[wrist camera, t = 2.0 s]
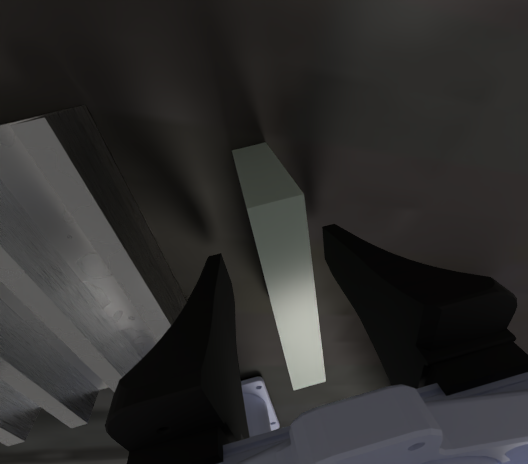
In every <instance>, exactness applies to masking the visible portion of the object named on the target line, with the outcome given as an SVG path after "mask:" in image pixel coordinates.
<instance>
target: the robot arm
mask: <svg viewBox="0 0 528 464" xmlns="http://www.w3.org/2000/svg"><path fill="white" fill-rule="evenodd" d="M322 228H323V241H324V253H325V260H326V262H327V264H328V266H329V269H330V271H331V273H332V275H333V276H334V278H335V280H336V281H337V283H338V284H339V286H340V287H341V289H342V290H343V292H344V294H345V295H346V297H347V298H348V300H349V301H350V303H351V304H352V306H353V307H354V309H355V311H356V312H357V314H358V316H359V317H360V319H361V321H362V323H363V325H364V327H365V329H366V331H367V333H368V335H369V337H370V339H371V341H372V343H373V346H374V348H375V350H376V352H377V354H378V356H379V358H380V360H381V362H382V365H383V367H384V369H385V371H386V373H387V376H388V378H389V380H390V382H391V385H392V386H387V387H384V388H380V389H377V390H373V391H370V392H367V393H363V394H360V395H356V396H353V397H349V398H346V399H342V400H339V401H336V402H332V403H329V404H325V405H322V406H318V407H315V408H313V409H311V410H308V411H306V412H304V413H302V414H301V415H300V416H298V417H297V418H296V419H295V420H294V421H293V422H292V424H291V426H287V427H284V428H281V429H278V428H279V426H280V425H279V421H278V418H277V416H276V413H275V410H274V408H273V405H272V402H271V399H270V397H269V394H268V391H267V389H266V386H265V383H264V380H263V378H262V377H254V378H250V379H246V380H243V381H241V379H240V372H239V365H238V357H237V349H236V328H235V301H234V294H233V288H232V283H231V280H230V277H229V274H228V272H227V269H226V266H225V263H224V260H223V258H222V255H221V253H220V254H217V255H213V256H209V257H208V259H207V261H206V263H205V266H204V268H203V271H202V273H201V275H200V278H199V280H198V282H197V284H196V286H195V288H194V290H193V292H192V294H191V295H190V297H189V299H188V301H187V303H186V304H185V306H184V308H183V309H182V311H181V312H180V314H179V315H178V317H177V318H176V320H175V321H174V322H173V324H172V325H171V326H170V328H169V329H168V330H167V331H166V333H165V334H164V335H163V336H162V338H161V339H160V340H159V341H158V342H157V343H156V345H155V346H154V347H153V348H152V349H151V350H150V351H149V352H148V353H147V354H146V355H145V356H144V357H143V358H142V359H141V360H140V361H139V362H138V363H137V364H136V365H135V366H134V367H133V368H132V369H131V370H130V371H129V372H128V373H126V374H125V375H124V376H123V377H122V378H121V379H120V380H119V382H118V385H117V388H116V390H115V393H114V396H113V399H112V403H111V406H110V410H109V413H108V417H107V420H106V424H105V428H106V432H107V433H108V434H109V435H110V436H111V438H113V439H114V440H115V441H116V442H118V443H119V444H120V445H122V446H123V447H124V448H125V449H127V450H128V451H129V456H128V461H127V464H528V355H527V354H526V353H525V352H524V351H523V350H522V349H521V348H520V347H519V346H517V345H516V344H515V343H514V342H513V341H515V340H516V337H515V336H514V335H513V334H512V333H511V332H510V331H509V330H508V329H507V327H508V325H509V323H510V321H511V319H512V317H513V315H514V313H515V311H516V308H517V298H516V297H515V295H514V294H513V293H511V292H510V291H509V290H507V289H506V288H505V287H503V286H502V285H501V284H499V283H498V282H497V281H495V280H494V279H492V278H491V277H486V276H480V275H474V274H467V273H461V272H456V271H451V270H446V269H442V268H437V267H433V266H429V265H426V264H422V263H419V262H415V261H412V260H409V259H406V258H403V257H401V256H398V255H395V254H393V253H390V252H388V251H385V250H383V249H381V248H379V247H376V246H374V245H372V244H370V243H368V242H366V241H364V240H362V239H360V238H359V237H357V236H355V235H353V234H351V233H350V232H348V231H346V230H344V229H343V228H341V227H339V226H337V225H335V224H332V225H328V226H324V227H322ZM275 429H277V430H275ZM272 430H274V431H272Z"/></svg>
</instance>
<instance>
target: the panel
mask: <svg viewBox="0 0 528 464" xmlns="http://www.w3.org/2000/svg"><path fill="white" fill-rule="evenodd" d="M232 154H233V158H234V162H235V165H236V169H237V173H238V177H239V181H240V185H241V189H242V193H243V197H244V200H245V204H246V208H247V212H248V216H249V220H250V224H251V228H252V231H253V235H254V239H255V243H256V247H257V251H258V255H259V259H260V263H261V266H262V270H263V274H264V278H265V282H266V286H267V290H268V294H269V297H270V301H271V305H272V309H273V313H274V317H275V321H276V324H277V328H278V332H279V336H280V340H281V344H282V348H283V352H284V355H285V359H286V363H287V367H288V371H289V375H290V379H291V382H292V386H293V390H297V389H300V388H304V387H307V386H311V385H314V384H318V383H321V382H325V381H326V379H325V370H324V362H323V353H322V344H321V336H320V327H319V319H318V310H317V302H316V293H315V285H314V276H313V267H312V259H311V250H310V242H309V233H308V225H307V216H306V207H305V199H304V194H303V192H302V191H301V189H300V188H299V187H298V185H297V184H296V183H295V181H294V180H293V179H292V177H291V176H290V175H289V173H288V172H287V171H286V169H285V168H284V166H283V165H282V164H281V162H280V161H279V160H278V158H277V157H276V156H275V154H274V153H273V152H272V150H271V149H270V148H269V146H268V145H267V143H266V142H265V143H261V144H257V145H252V146H248V147H244V148H240V149H236V150H232Z"/></svg>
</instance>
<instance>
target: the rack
mask: <svg viewBox="0 0 528 464" xmlns="http://www.w3.org/2000/svg"><path fill="white" fill-rule="evenodd" d="M186 303H187V301H186V299H185V297H184V296H183V294H182V292H181V290H180V288H179V286H178V284H177V282H176V280H175V278H174V276H173V274H172V272H171V270H170V268H169V266H168V264H167V263H166V261H165V259H164V257H163V255H162V253H161V251H160V249H159V247H158V245H157V243H156V241H155V239H154V237H153V235H152V233H151V232H150V230H149V228H148V226H147V224H146V222H145V220H144V218H143V216H142V214H141V212H140V210H139V208H138V206H137V204H136V202H135V200H134V199H133V197H132V195H131V193H130V191H129V189H128V187H127V185H126V183H125V181H124V179H123V177H122V175H121V173H120V171H119V169H118V167H117V166H116V164H115V162H114V160H113V158H112V156H111V154H110V152H109V150H108V148H107V146H106V144H105V142H104V140H103V138H102V136H101V135H100V133H99V131H98V129H97V127H96V125H95V123H94V121H93V119H92V117H91V115H90V113H89V111H88V109H87V107H86V105H83V106H78V107H74V108H70V109H65V110H61V111H57V112H52V113H48V114H44V115H39V116H35V117H31V118H26V119H22V120H18V121H13V122H9V123H5V124H0V442H1V443H3V444H5V445H7V446H10V445H14V444H17V443H21V442H24V441H25V440H26V438H27V436H28V434H29V432H30V430H31V428H32V426H33V424H34V422H35V420H36V417H37V415H38V413H39V411H40V409H41V407H42V408H43V409H45V410H46V411H47V412H49V413H50V414H52V415H53V416H54V417H56V418H57V419H59V420H60V421H62V422H63V423H64V424H66V425H67V426H69V427H70V428H74V427H77V426H81V425H85V424H88V421H89V418H90V415H91V412H92V409H93V406H94V404H95V401H96V398H97V395H98V392H99V390H101V389H105V388H108V387H109V388H110V389H111V390H113V391H114V392H115V390H116V388H117V385H118V382H119V380H120V379H121V378H122V377H123V376H124V375H125V374H126V373H128V372H129V371H130V370H131V369H132V368H133V367H134V366H135V365H136V364H137V363H138V362H139V361H140V360H141V359H142V358H143V357H144V356H145V355H146V354H147V353H148V352H149V351H150V350H151V349H152V348H153V347H154V346H155V345H156V343H157V342H158V341H159V340H160V339H161V338H162V336H163V335H164V334H165V333H166V331H167V330H168V329H169V328H170V326H171V325H172V324H173V322H174V321H175V320H176V318H177V317H178V315H179V314H180V312H181V311H182V309H183V308H184V306H185V304H186Z"/></svg>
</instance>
